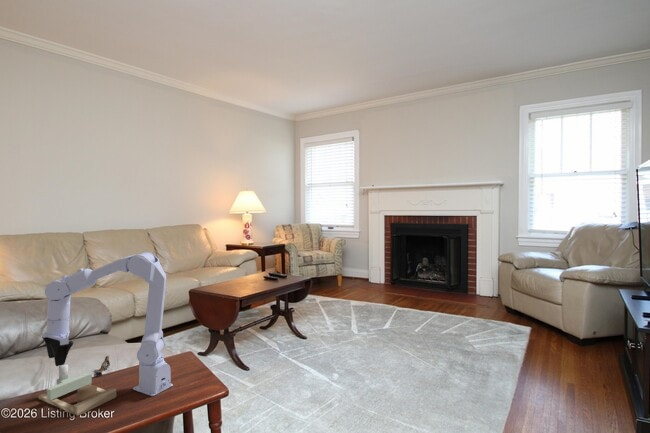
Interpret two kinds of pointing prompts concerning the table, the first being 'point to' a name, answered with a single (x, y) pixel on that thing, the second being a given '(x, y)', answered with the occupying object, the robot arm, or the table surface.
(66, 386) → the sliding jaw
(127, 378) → the table surface
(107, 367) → the brown figurine
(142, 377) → the robot arm
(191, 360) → the table surface
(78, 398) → the walnut puck
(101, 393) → the frame
